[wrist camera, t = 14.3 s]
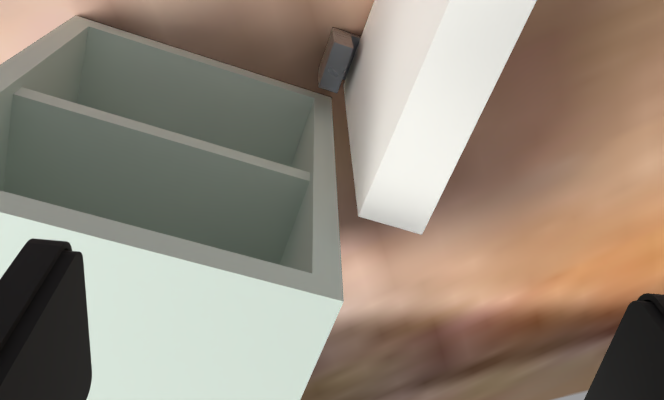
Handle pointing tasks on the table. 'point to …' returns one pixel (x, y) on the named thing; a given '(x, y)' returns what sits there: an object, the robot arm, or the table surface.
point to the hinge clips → (337, 59)
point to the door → (421, 97)
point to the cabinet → (176, 211)
